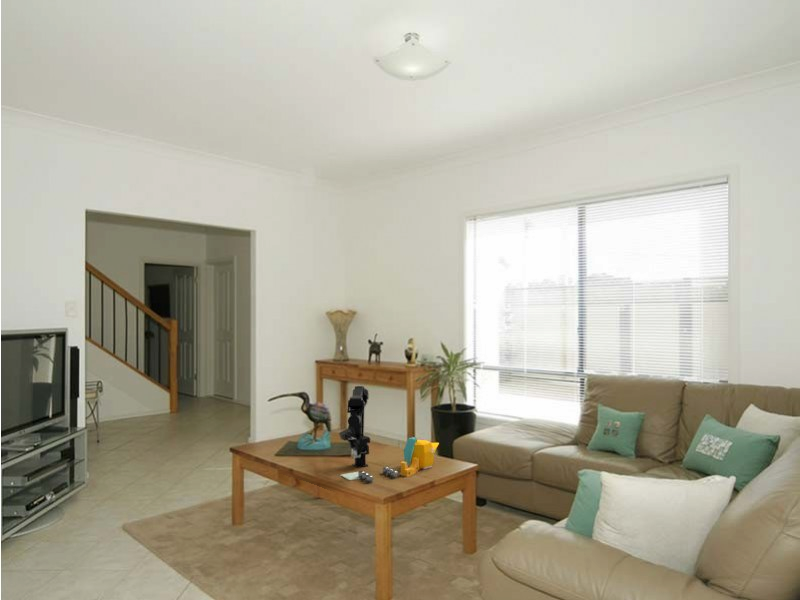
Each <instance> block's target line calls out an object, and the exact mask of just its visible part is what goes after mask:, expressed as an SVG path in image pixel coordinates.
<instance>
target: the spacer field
mask: <svg viewBox="0 0 800 600" xmlns="http://www.w3.org/2000/svg"><path fill="white" fill-rule="evenodd" d="M357 472H358V477H359V478H360V479H359V480H361V481H363V482H366V483H367V484H372V483H374V476H373V474H370V473H369V472H366V471H364V470H359V471H357ZM382 474H383V475H386V477H390V478H391V479H397V478H398V470H397V469H396V470H395V469H394V468H391V467H389V466H383V467H382Z"/></svg>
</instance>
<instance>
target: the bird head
mask: <svg viewBox="0 0 800 600" xmlns="http://www.w3.org/2000/svg"><path fill="white" fill-rule="evenodd" d="M439 445H440V443H439V442H431V441H429V440H427V439H426V440H423V439H417V437H414V436H412V437H409V438H408V439H407V441H406V444H405V447H404V449H403V457H404V460H403V461H404V462H407V466H408V468H409V467H410V466H411V464H412V461H413V458H419V470H426V469H430V468H433V466H434V460H435V458H434V457H435V453H436V450H437V448H438V446H439Z"/></svg>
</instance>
